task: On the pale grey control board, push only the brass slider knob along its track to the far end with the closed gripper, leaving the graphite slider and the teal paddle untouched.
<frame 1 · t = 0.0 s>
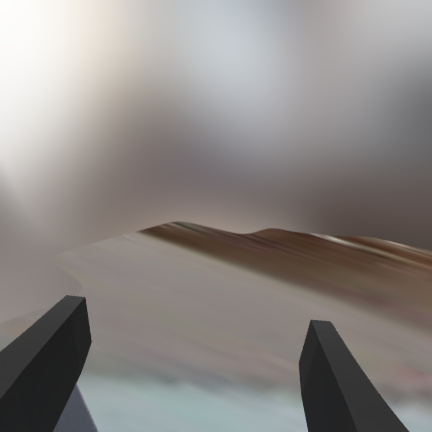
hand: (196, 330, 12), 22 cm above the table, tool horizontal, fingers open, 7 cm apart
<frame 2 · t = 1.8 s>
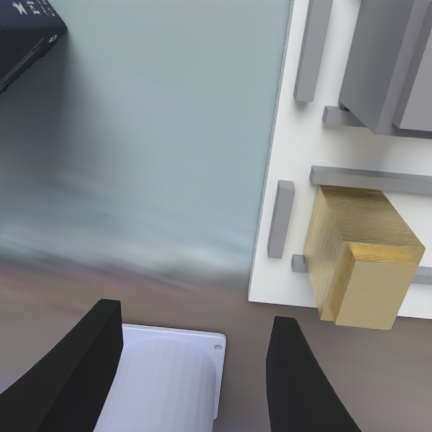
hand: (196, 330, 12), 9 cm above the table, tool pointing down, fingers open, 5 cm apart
slider brass: (354, 254, 16), point 4 cm above the table, slide at 0.0 cm
slider graphite: (416, 60, 12), point 4 cm above the table, slide at 0.0 cm
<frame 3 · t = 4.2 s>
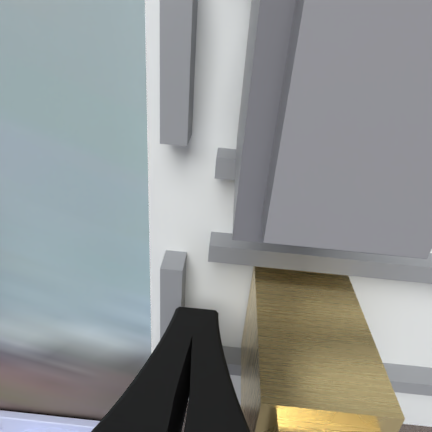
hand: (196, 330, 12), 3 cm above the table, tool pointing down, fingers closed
slider brass: (300, 379, 10), point 4 cm above the table, slide at 1.0 cm, touching gripper
slider graphite: (329, 88, 7), point 4 cm above the table, slide at 0.0 cm
control board: (407, 173, 11), on the table
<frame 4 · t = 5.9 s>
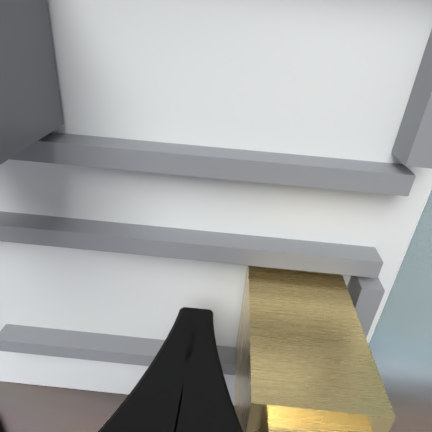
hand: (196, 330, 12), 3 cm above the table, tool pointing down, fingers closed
slider brass: (293, 379, 10), point 4 cm above the table, slide at 8.6 cm, touching gripper
control board: (162, 150, 12), on the table
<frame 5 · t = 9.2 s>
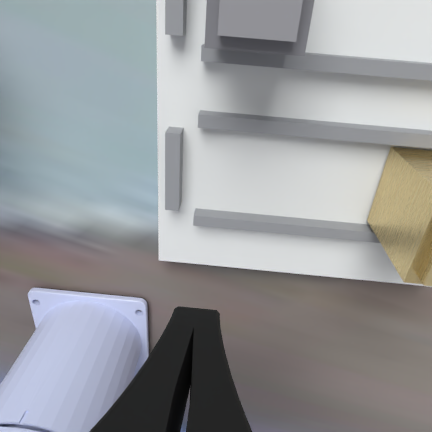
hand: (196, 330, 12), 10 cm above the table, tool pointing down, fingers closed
control board: (334, 69, 17), on the table
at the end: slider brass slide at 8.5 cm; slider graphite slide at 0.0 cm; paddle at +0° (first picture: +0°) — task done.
